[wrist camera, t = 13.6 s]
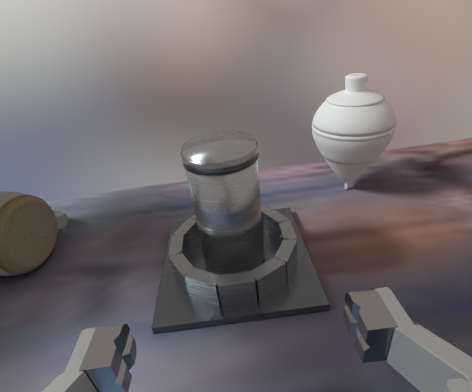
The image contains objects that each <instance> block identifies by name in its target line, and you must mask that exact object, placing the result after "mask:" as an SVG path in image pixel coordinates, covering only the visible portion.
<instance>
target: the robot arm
mask: <svg viewBox="0 0 472 392" xmlns="http://www.w3.org/2000/svg"><path fill="white" fill-rule="evenodd" d="M345 301H346V303H347V305H346V306H345V307H344V319H345V323H346V327H347V329H348V332H349V334H350V335H352V336H353V337H354V338H355V347H356V350H357V352H358V354H359V356H360V359H361V361H362V363H367V362H376V361H385V360H387V362H388V363H389V364H390V365H391V366H392V367H393V368H394V369H395V370H397V371H398V372H399V373H400V374H401V375H402V376H403V377H404V378H406V379H407V380H408V381H409V382H410V383H411V384H412V385H413V386H415V387H416V388H417V389H418V390H419V391H420V392H472V357H470V356H469V355H467V354H466V353H464V352H462V351H461V350H459V349H458V348H456V347H454V346H453V345H451V344H450V343H448V342H446V341H445V340H443V339H442V338H440V337H438V336H437V335H435V334H433V333H432V332H430V331H429V330H427V329H425V328H424V327H422V326H421V325H419V324H418V325H414V323H413V322H412V320H411V319H410V317H409V316H408V314H407V313H406V311H405V310H404V308H403V307H402V305H401V304H400V302H399V301H398V299H397V298H396V297H395V295H394V294H393V292H392V291H391V289H390V288H388V287H383V288H376V289H367V290H361V291H354V292H348V293H346V295H345ZM129 331H130V329H129V327H128V325H127V324H120V325H111V326H102V327H93V328H86V329H84V330H83V331H82V332H81V333H80V336H79V338H78V340H77V343H76V345H75V348H74V350H73V352H72V355H71V357H70V360H69V362H68V364H67V367H66V369H65V372H64V374H59V375H58V376H57V377H56V378H55V379H54V380H53V381H52V382H51V383H50V384H49V385H48V386H47V387H46V388H45V389H44V390H43V391H42V392H128V391H129V387H130V382H131V378H132V376H131V374H130V372H129V370H130V369H131V367H132V366H133V365H134V364H135V359H136V343H135V340H134V337H133V336H131V335H129Z"/></svg>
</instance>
